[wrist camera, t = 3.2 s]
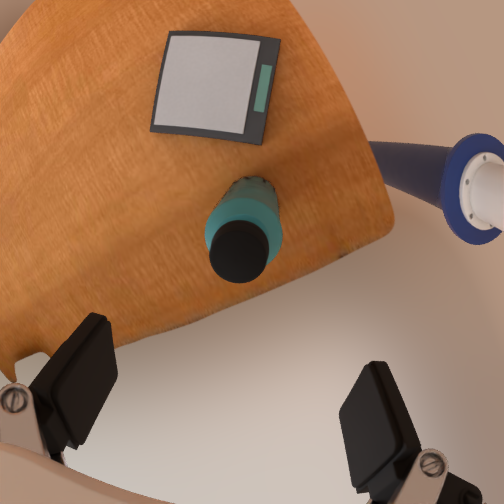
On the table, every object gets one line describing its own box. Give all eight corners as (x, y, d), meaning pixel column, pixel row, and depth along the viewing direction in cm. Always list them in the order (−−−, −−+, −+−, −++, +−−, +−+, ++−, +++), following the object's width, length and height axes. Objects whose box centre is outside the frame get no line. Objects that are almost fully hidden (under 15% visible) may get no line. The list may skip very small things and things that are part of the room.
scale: (280, 44, 30) (281, 37, 27) (261, 145, 35) (261, 145, 32) (174, 36, 30) (167, 29, 27) (156, 132, 35) (147, 131, 32)
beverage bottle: (284, 182, 37) (304, 226, 18) (268, 229, 39) (269, 313, 20) (235, 166, 36) (202, 194, 18) (221, 214, 39) (180, 286, 20)
